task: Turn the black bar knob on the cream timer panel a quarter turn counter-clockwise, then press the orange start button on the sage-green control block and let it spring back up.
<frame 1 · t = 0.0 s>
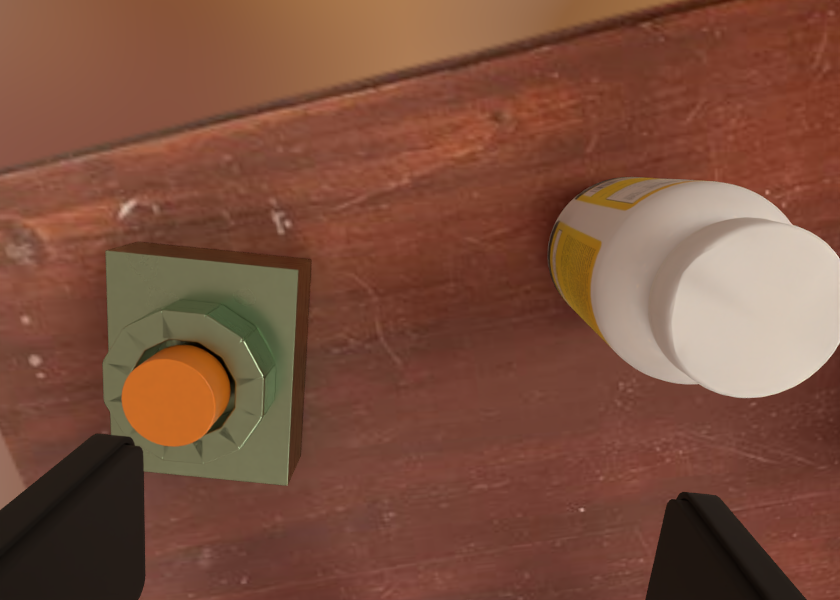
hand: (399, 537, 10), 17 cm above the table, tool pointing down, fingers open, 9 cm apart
pill bottle: (615, 248, 26), on the table
start button: (178, 394, 23), point 5 cm above the table, slide at 0.1 cm
control block: (222, 353, 28), on the table
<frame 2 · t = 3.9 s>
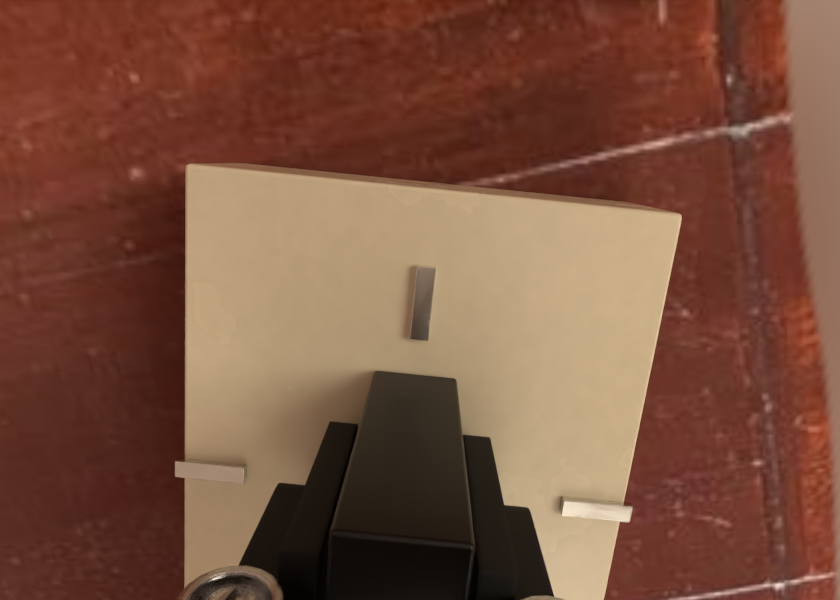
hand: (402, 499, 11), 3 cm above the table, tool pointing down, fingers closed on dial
timer panel: (409, 422, 15), on the table
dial: (395, 580, 9), point 6 cm above the table, hinge at 0.0°, touching gripper
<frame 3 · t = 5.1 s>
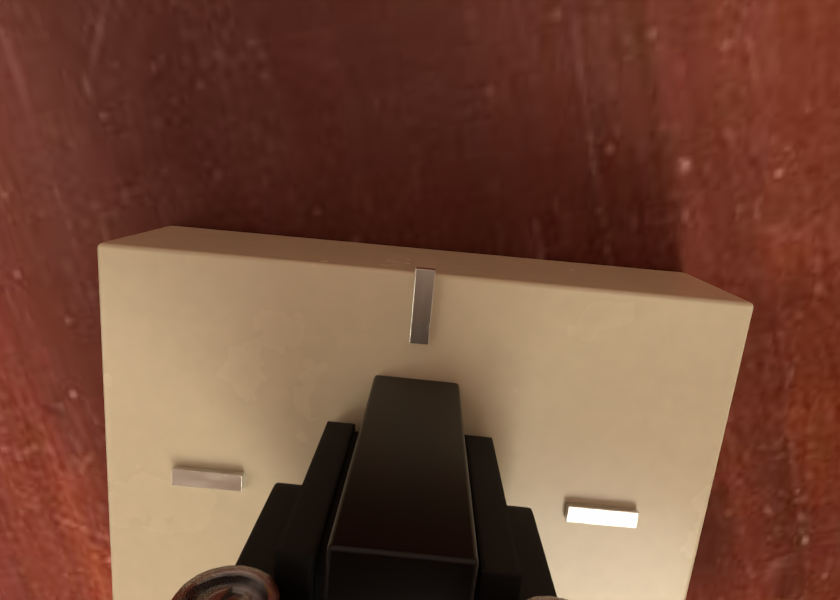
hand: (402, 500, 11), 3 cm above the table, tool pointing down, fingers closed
timer panel: (410, 426, 14), on the table
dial: (396, 591, 9), point 6 cm above the table, hinge at 89.4°
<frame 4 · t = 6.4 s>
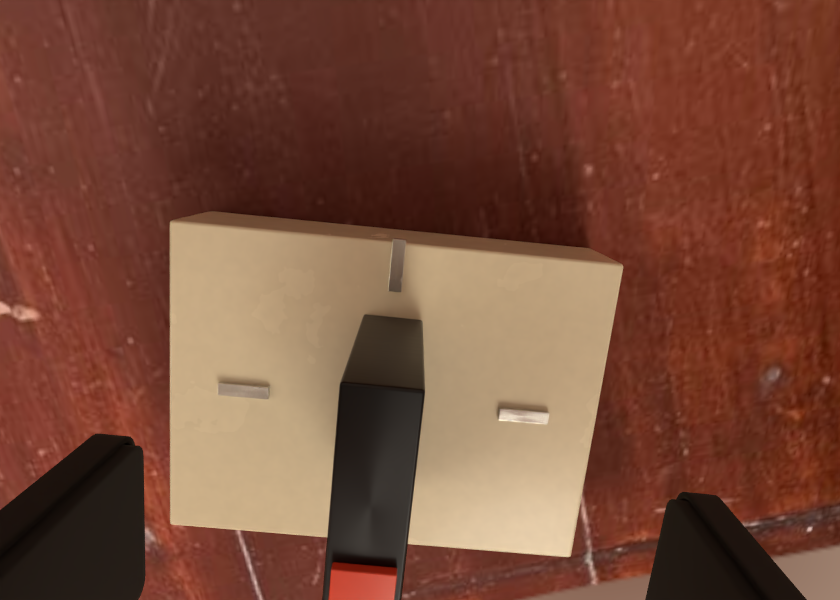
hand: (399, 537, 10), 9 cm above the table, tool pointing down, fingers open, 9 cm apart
timer panel: (389, 365, 19), on the table
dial: (378, 447, 14), point 6 cm above the table, hinge at 89.5°
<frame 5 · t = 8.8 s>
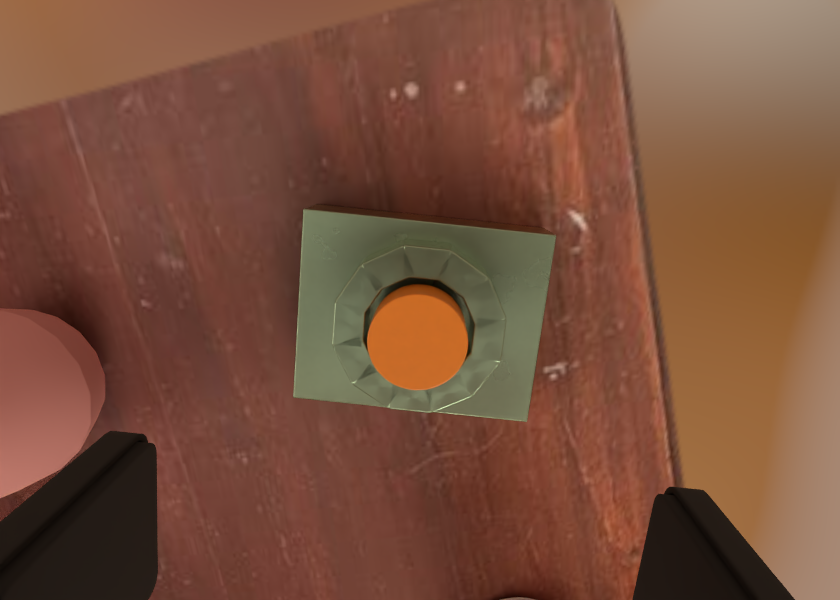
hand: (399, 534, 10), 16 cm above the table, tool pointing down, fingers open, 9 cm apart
pink vase: (55, 367, 28), on the table
start button: (418, 336, 21), point 5 cm above the table, slide at 0.1 cm
control block: (421, 303, 26), on the table
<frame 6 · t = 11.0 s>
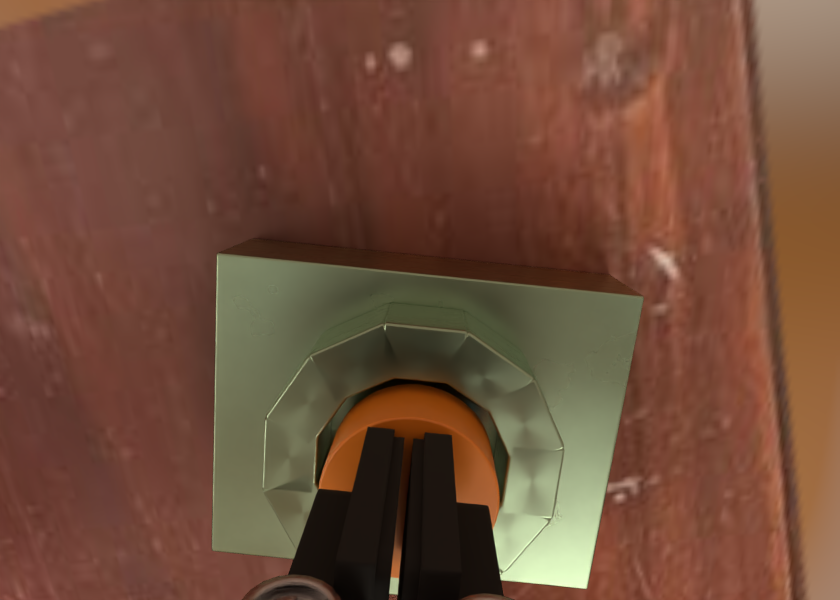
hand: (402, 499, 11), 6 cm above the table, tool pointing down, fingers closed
start button: (410, 478, 12), point 5 cm above the table, slide at -0.1 cm, touching gripper
control block: (417, 390, 17), on the table
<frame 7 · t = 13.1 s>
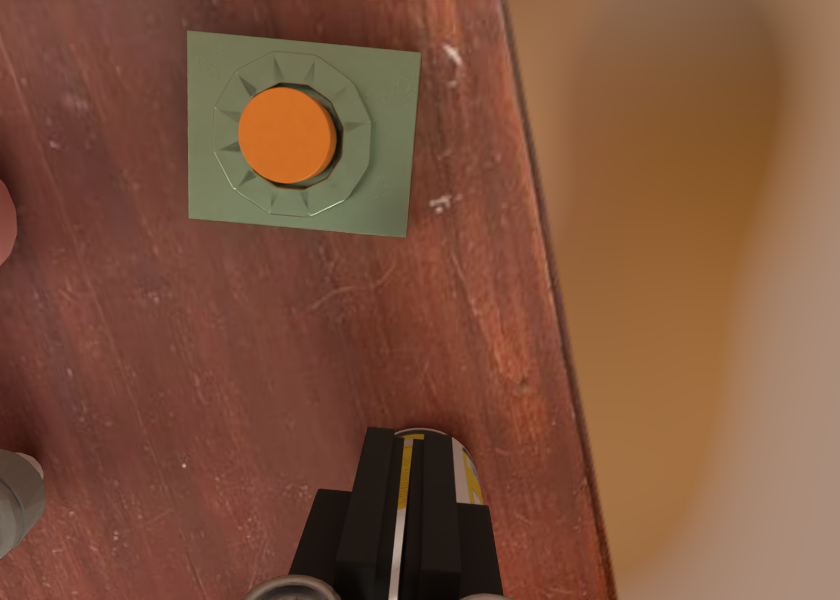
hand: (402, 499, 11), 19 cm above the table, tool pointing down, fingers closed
pill bottle: (420, 473, 33), on the table
start button: (289, 136, 23), point 5 cm above the table, slide at 0.1 cm
light bulb: (33, 462, 33), on the table
control block: (312, 139, 28), on the table
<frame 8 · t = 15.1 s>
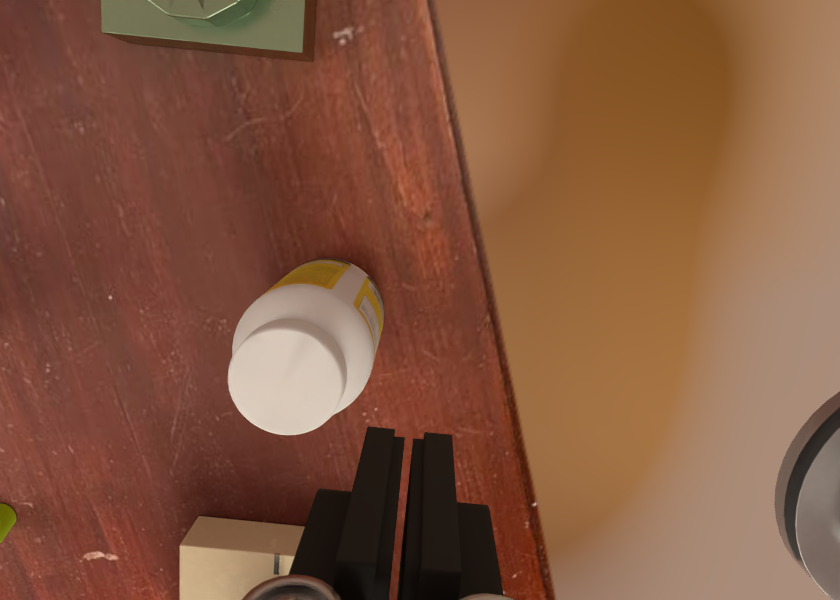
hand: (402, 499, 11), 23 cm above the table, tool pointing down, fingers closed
pill bottle: (332, 308, 35), on the table
timer panel: (286, 582, 39), on the table
mushroom: (4, 514, 38), on the table
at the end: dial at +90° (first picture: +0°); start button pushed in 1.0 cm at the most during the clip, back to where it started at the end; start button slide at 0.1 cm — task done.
